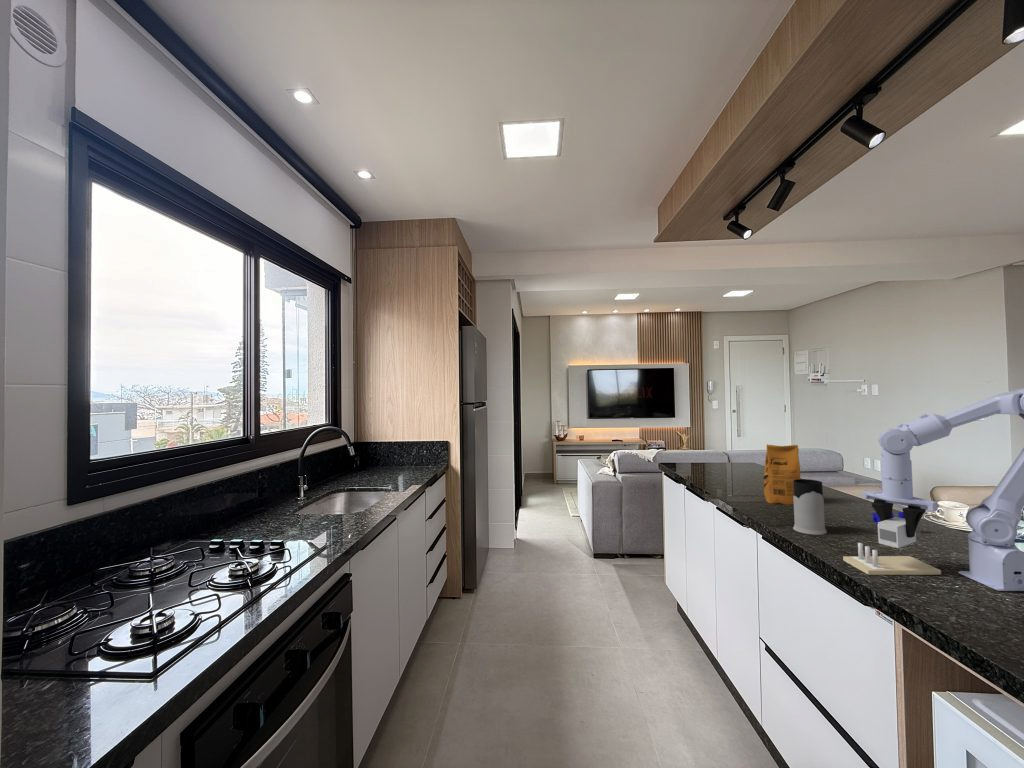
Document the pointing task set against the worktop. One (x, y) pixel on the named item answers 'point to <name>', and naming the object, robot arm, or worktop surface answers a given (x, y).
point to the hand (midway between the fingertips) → (899, 534)
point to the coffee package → (781, 473)
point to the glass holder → (809, 507)
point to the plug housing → (895, 533)
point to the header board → (889, 564)
